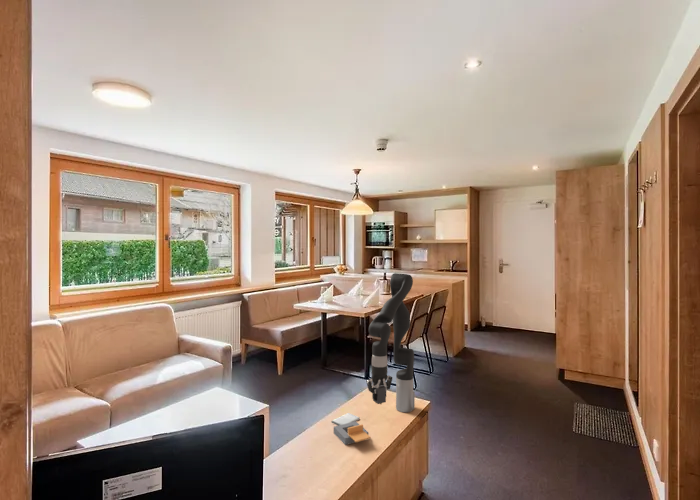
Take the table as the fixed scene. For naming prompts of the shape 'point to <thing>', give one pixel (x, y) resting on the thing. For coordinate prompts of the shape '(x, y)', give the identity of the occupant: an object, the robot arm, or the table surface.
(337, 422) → the hard drive
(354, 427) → the panel
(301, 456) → the table surface
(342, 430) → the socket
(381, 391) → the plug
